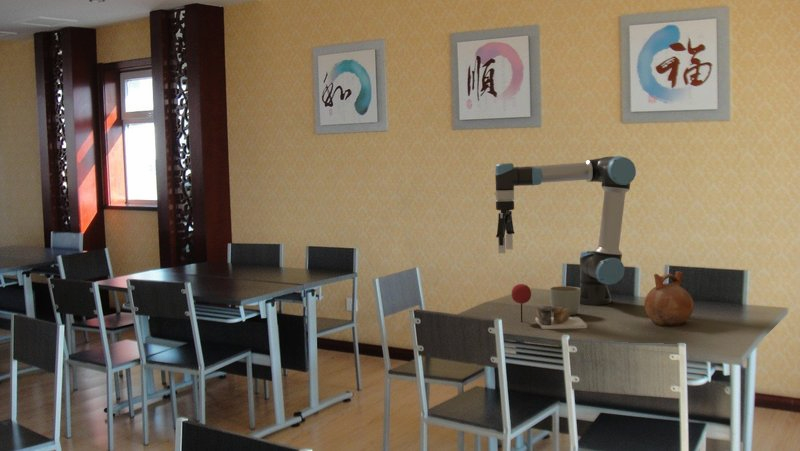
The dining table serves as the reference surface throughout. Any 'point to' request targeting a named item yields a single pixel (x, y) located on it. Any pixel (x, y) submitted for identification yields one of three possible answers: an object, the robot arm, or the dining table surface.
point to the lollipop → (521, 294)
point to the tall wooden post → (544, 316)
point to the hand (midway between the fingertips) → (505, 251)
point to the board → (564, 324)
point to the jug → (669, 301)
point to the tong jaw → (557, 313)
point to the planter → (566, 298)
